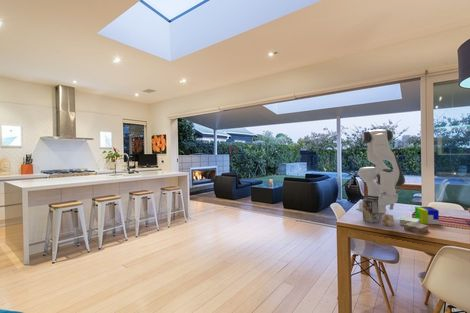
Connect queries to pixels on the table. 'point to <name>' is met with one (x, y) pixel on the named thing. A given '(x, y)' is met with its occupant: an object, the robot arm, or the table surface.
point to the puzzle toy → (427, 215)
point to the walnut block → (416, 227)
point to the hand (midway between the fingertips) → (387, 210)
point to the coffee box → (370, 210)
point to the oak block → (387, 219)
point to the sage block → (408, 220)
